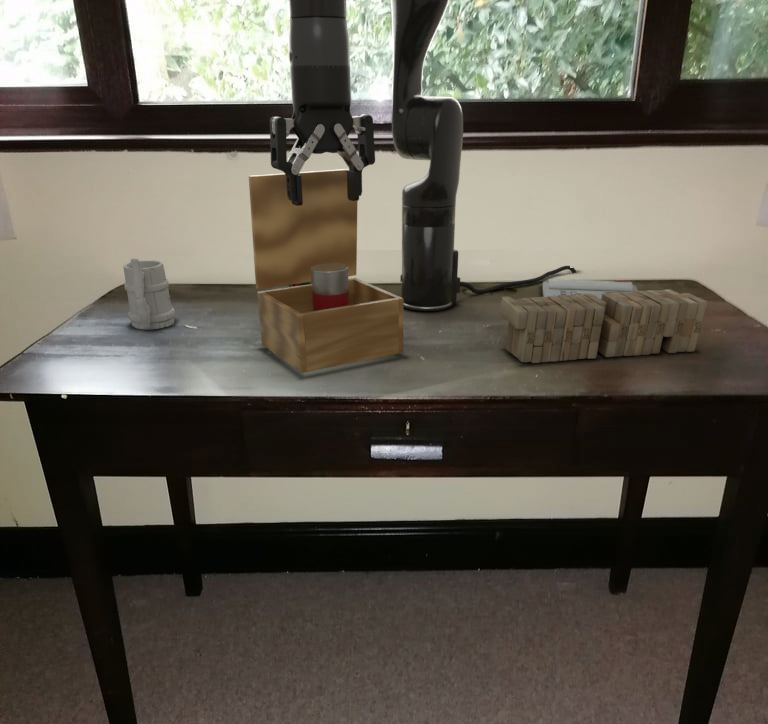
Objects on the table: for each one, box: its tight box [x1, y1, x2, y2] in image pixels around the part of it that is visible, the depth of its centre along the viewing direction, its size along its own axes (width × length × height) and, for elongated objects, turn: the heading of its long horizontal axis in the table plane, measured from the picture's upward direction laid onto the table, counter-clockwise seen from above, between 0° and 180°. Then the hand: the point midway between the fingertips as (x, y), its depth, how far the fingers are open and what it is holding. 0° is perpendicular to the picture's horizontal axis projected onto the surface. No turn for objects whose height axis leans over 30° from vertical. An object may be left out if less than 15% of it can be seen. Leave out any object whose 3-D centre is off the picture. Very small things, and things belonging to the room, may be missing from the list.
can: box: [311, 263, 349, 311], centre depth 106 cm, size 5×5×12 cm
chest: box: [256, 277, 404, 374], centre depth 108 cm, size 15×17×9 cm
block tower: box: [499, 288, 708, 364], centre depth 108 cm, size 8×8×29 cm
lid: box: [248, 168, 358, 290], centre depth 108 cm, size 15×17×5 cm
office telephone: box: [542, 278, 639, 299], centre depth 132 cm, size 23×3×20 cm
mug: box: [122, 258, 176, 331], centre depth 119 cm, size 8×12×12 cm, turn 7°
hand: (325, 202), depth 99 cm, fingers open, 8 cm apart
